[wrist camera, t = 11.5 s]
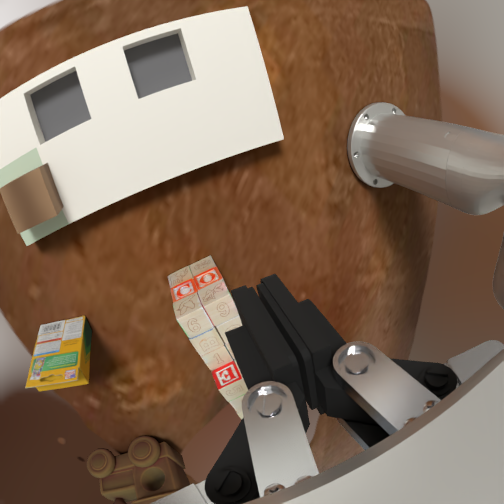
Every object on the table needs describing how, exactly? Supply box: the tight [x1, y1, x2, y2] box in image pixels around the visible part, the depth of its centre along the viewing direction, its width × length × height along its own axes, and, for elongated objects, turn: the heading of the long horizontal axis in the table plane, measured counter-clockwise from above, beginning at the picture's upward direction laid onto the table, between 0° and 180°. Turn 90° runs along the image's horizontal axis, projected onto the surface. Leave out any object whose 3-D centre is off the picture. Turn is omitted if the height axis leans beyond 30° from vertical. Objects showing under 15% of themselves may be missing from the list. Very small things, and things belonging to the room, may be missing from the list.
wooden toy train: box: [87, 436, 190, 504], centre depth 44 cm, size 20×11×17 cm, turn 106°
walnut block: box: [0, 163, 64, 234], centre depth 25 cm, size 5×5×3 cm
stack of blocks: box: [168, 256, 248, 419], centre depth 39 cm, size 21×6×12 cm, turn 18°
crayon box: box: [25, 316, 92, 391], centre depth 31 cm, size 7×3×12 cm, turn 94°
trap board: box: [0, 7, 284, 246], centre depth 28 cm, size 31×16×2 cm, turn 105°
